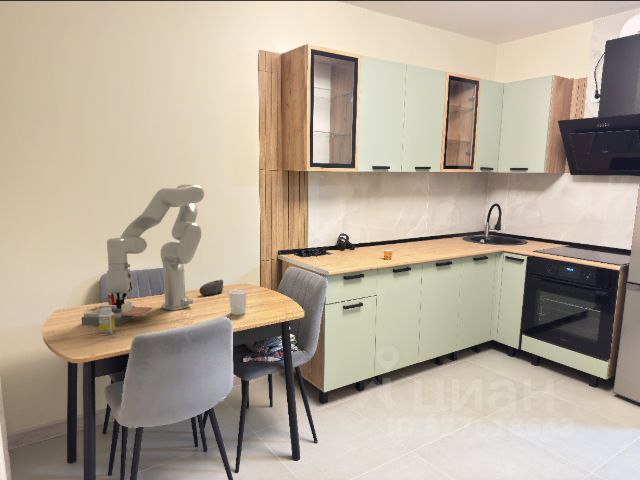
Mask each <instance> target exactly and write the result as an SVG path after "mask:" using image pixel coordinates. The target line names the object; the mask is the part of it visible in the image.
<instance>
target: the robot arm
mask: <svg viewBox="0 0 640 480" xmlns="http://www.w3.org/2000/svg"><path fill="white" fill-rule="evenodd" d="M204 197H205V189H204V188H203V187H202V186H200V185H198V184H180V185H178V186H176V188H175V187H174V188H165V187H163V188H161V189H159V190H157V192H156V193H155V194H154V196H153V197H152V199H151V200H150V202H149V203H148V205H147V206H146V207H145V209H144V210H143V212H142V213H141V214H140V215H138V216H137V217H136V218H135V219H134V220H132V222H130V223H129V224H128V226H127V227H126V228H125V229H124V231H123V233H122V234H121V235H120V237H112V238H108V240H106V247H107V248H106V250H107V251H106V252H107V265H108V266H107V267H108V269H107V270H106V276H105V288H106V293H107V296H108V295H112V296H113V297H114V299H115V300H116V306H117V309H121V305H123V304H124V303H125V299H126V297H128V296H131V295H133V292H132V291H133V290H134V284H133V283H134V282H133V277H132V272H131V270H130V267H131V264H130V263H128V255H129V254H132V255H136V254H137V255H138V254H141V253H144V251H146V249H147V247H148V243H147V241H146V240H145V239H144V238H143V237H141V236H142V234H144V233H145V232H146V231H148V230H149V229H151V228H153V227H156V226H158V225H159V224H160V223H161V222H162V221H163V219H164V217H165V216H166V215H167V212H169V210H170V209H171V208H179V210H178V214H177V217H176V219H175V222H174V224H173V226H172V229H171V236H172V238H173V239H174V240H176V241H179V242H176V241H175V242H174V241H169V242H168V241H167V242H166V243H164V244H163V245H162V247H161V249H160V258H161V262H162V271H163V290H164V302H163V304H161V309H162V310H166V311H179V310H183V309H185V308H188V307H189V306H190V305H194V303H195V302H194V300H193V299H191V298H188V296H187V295H186V285H185V283H186V280H185V267H184V265H186V264H189V263H190V262H191V261H192V260H193V258H194V257H195V254H196V252H197V249H198V247H199V243H200V242H201V238H202V228H201V226H200V225H199V223H196V220H197V216H198V208H197V204H198V203H200V202H201V201H202V200H203V199H204Z"/></svg>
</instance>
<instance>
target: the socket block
mask: <svg viewBox="0 0 640 480" xmlns="http://www.w3.org/2000/svg"><path fill="white" fill-rule="evenodd" d="M105 307H111V310H112V312H113V313H114V321H115V327H120V326H122V325H123V324H125V323H127V322H129V321H130V320H131V319H134V317H136V316H121V314H119V313H121V312H122V308H121V309H117V306H116V305H109V304H105V305H103V304H100V305H99V308H98V309H95V310H94V311H92V312H84V313H83V316H82V317H81V326H83V327H84V326H86V327H87V326H88V327H89V326H92V327H99V314H100V313H101V312H100V309H101V308H105ZM132 307H136V306H135V305H132Z"/></svg>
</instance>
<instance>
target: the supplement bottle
mask: <svg viewBox="0 0 640 480" xmlns="http://www.w3.org/2000/svg"><path fill="white" fill-rule="evenodd" d="M100 312H101V313H100V314H99V326H98V327H99V334H100V335H101V336H102V335H103V336H109V335H112V334H114V333H115V332H116V326H115V321H114V313H113V312H112V310H111V307H105V308H101V309H100Z"/></svg>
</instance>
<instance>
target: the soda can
mask: <svg viewBox="0 0 640 480" xmlns="http://www.w3.org/2000/svg"><path fill="white" fill-rule="evenodd" d="M107 302H108V304H107V305H116V300H115V299H114V297H113V296H112V295H108V294H107Z"/></svg>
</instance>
